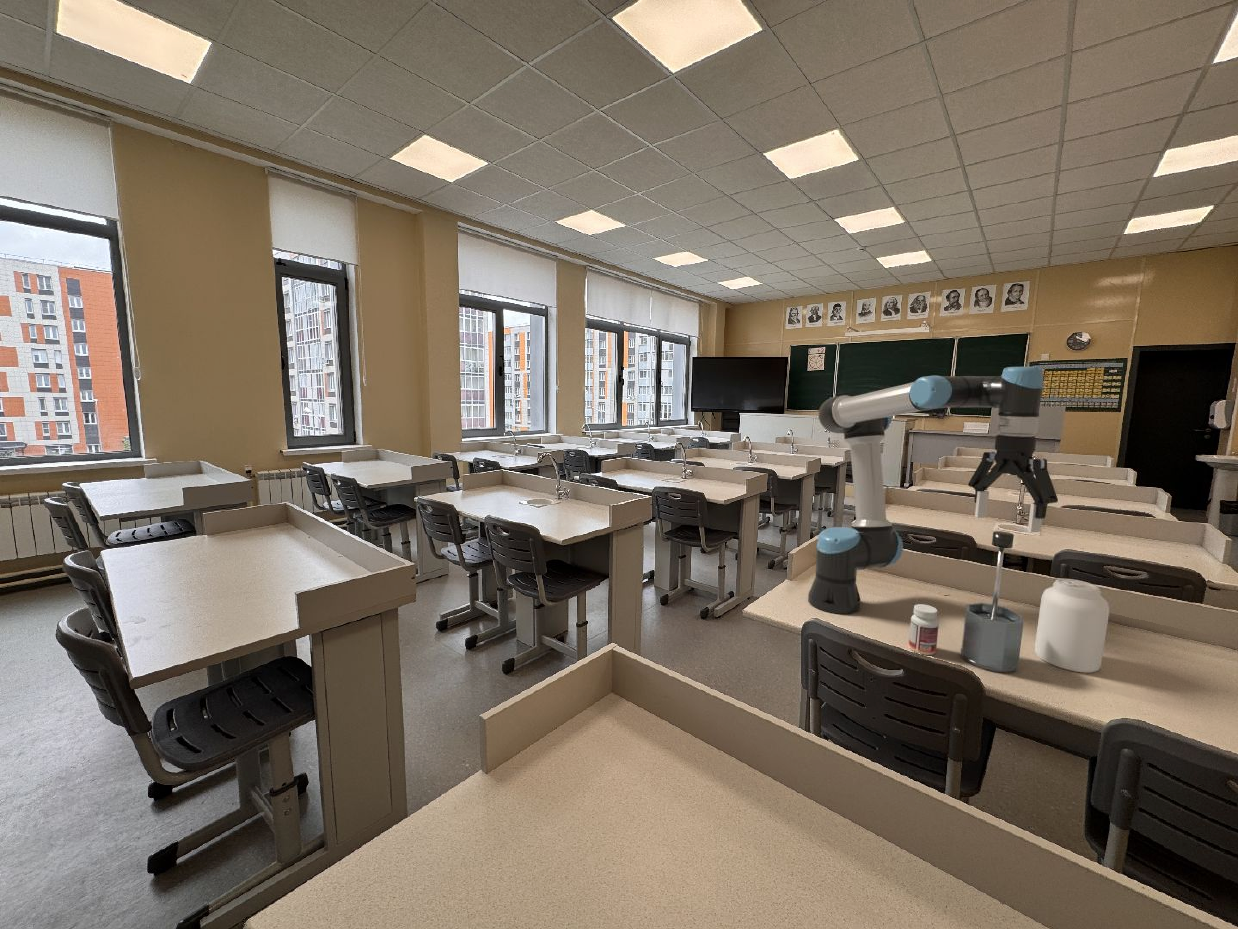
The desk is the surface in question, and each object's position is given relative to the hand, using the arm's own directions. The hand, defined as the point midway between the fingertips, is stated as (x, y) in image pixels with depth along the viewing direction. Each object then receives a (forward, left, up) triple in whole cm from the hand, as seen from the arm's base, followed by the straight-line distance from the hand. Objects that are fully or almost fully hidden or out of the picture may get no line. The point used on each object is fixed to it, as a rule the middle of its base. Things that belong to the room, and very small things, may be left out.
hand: (1005, 524), depth 124 cm
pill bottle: (-8, -12, -35) cm, 38 cm away
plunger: (0, 0, -25) cm, 25 cm away
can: (+4, +19, -35) cm, 40 cm away
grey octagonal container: (0, +1, -35) cm, 35 cm away
